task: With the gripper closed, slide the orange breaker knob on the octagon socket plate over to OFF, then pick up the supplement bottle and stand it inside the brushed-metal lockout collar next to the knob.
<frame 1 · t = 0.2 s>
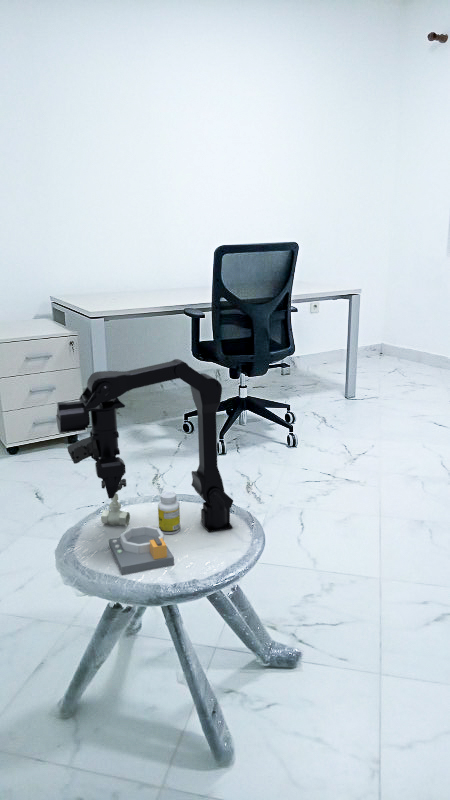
hand: (108, 490, 148), 14 cm above the table, tool pointing down, fingers open, 9 cm apart
valve: (116, 525, 163), on the table
supplement bottle: (169, 530, 160), on the table
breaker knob: (158, 547, 143), point 4 cm above the table, slide at 0.0 cm
octagon socket plate: (140, 555, 147), on the table
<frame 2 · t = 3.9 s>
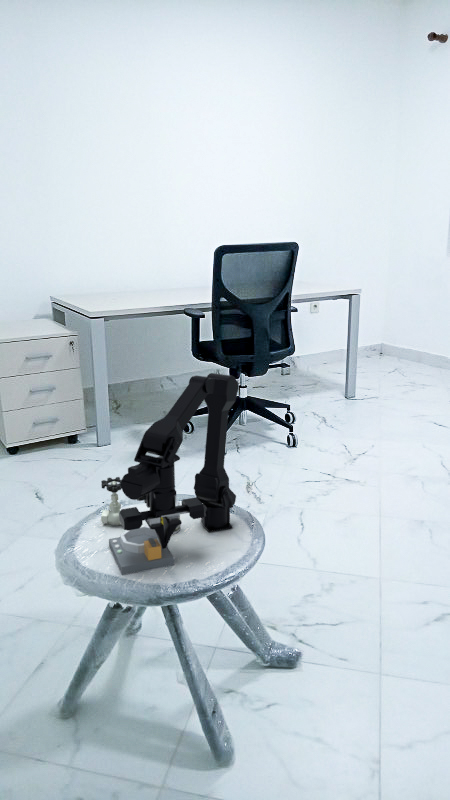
hand: (163, 547, 143), 4 cm above the table, tool pointing down, fingers closed
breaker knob: (152, 548, 143), point 4 cm above the table, slide at 1.3 cm, touching gripper
everything else where it was.
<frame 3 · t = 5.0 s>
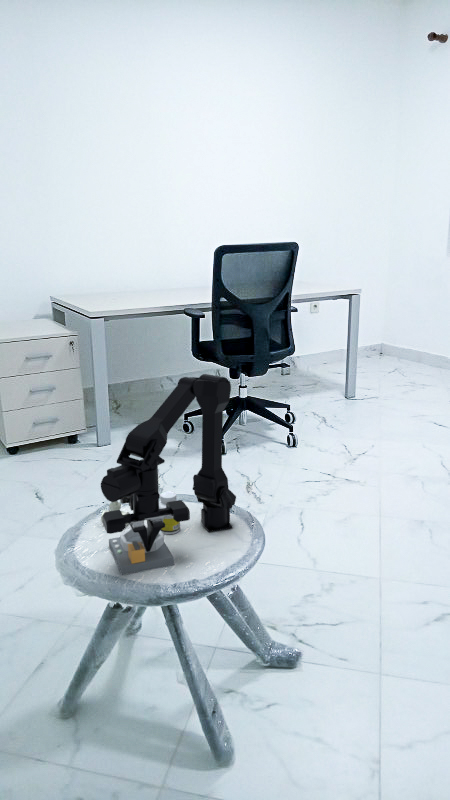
hand: (147, 550, 142), 4 cm above the table, tool pointing down, fingers closed
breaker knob: (136, 551, 141), point 4 cm above the table, slide at 5.1 cm, touching gripper
everything else where it was.
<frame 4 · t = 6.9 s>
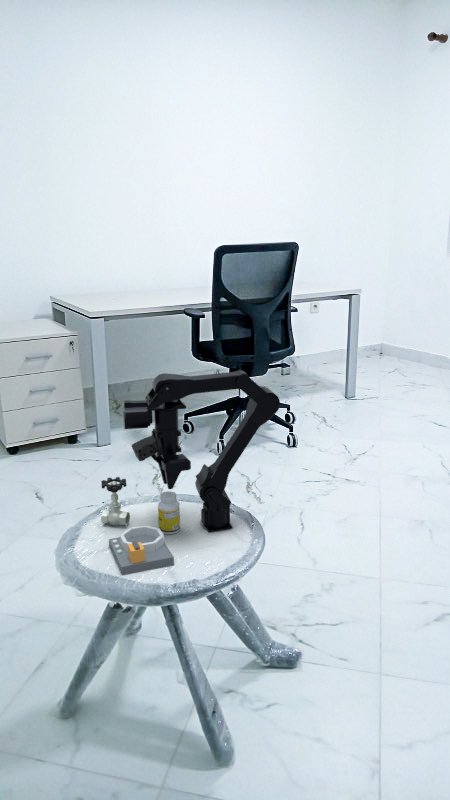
hand: (168, 486, 157), 12 cm above the table, tool pointing down, fingers open, 3 cm apart
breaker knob: (136, 551, 141), point 4 cm above the table, slide at 5.1 cm
everything else where it was.
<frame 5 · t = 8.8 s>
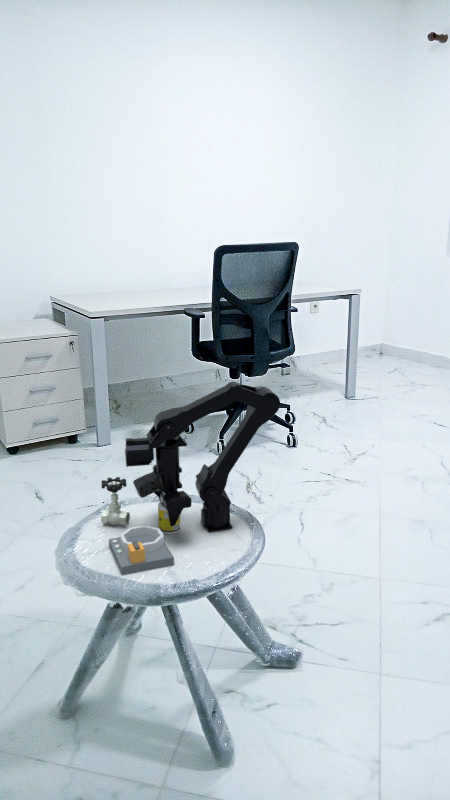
hand: (169, 520, 159), 3 cm above the table, tool pointing down, fingers closed on supplement bottle, 5 cm apart
supplement bottle: (169, 530, 160), on the table, touching gripper
everything else where it was.
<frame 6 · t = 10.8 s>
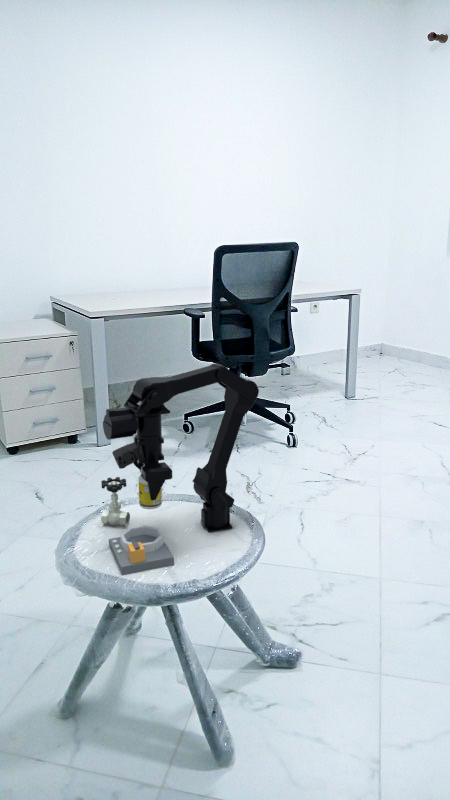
hand: (150, 495, 150), 12 cm above the table, tool pointing down, fingers closed on supplement bottle, 5 cm apart
supplement bottle: (150, 506, 151), point 10 cm above the table, touching gripper
everything else where it was.
when the fingers open (6 cm above the table, at t = 12.6 s): supplement bottle drops 1 cm, resting on octagon socket plate.
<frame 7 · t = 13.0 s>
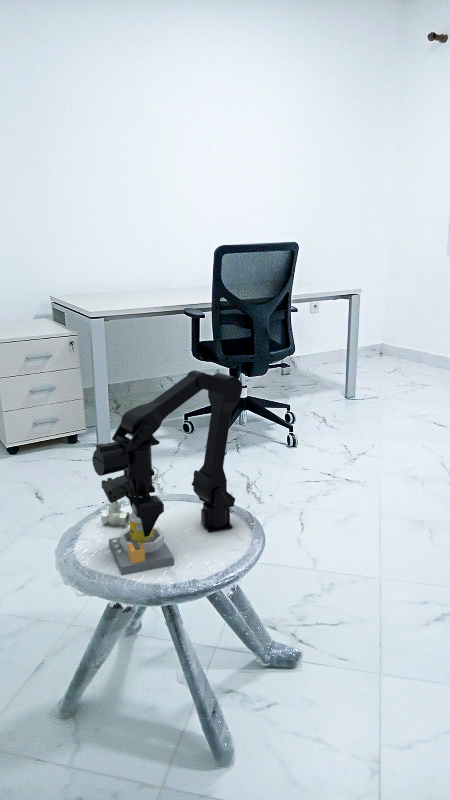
hand: (141, 527, 148), 6 cm above the table, tool pointing down, fingers open, 9 cm apart
supplement bottle: (142, 543, 149), point 2 cm above the table, touching octagon socket plate
everything else where it was.
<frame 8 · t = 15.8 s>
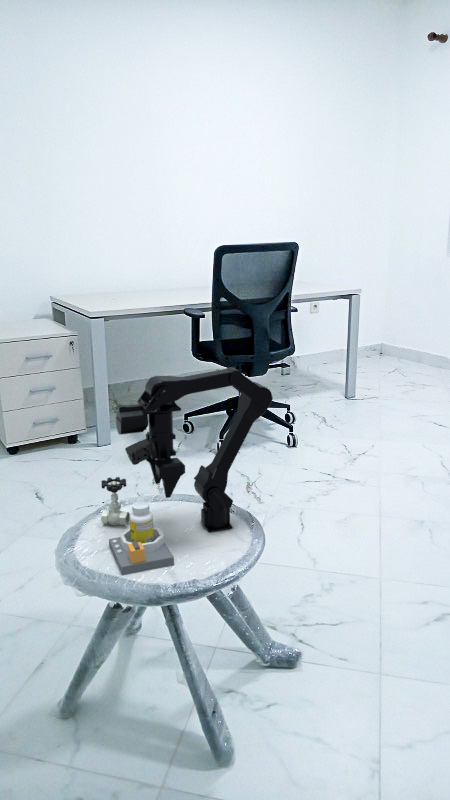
hand: (162, 490, 154), 12 cm above the table, tool pointing down, fingers open, 9 cm apart
nothing on the table moved.
at the end: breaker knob slide at 5.1 cm; supplement bottle 0.0 cm from the target spot, point 1.8 cm above the table; supplement bottle tilted 0° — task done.
